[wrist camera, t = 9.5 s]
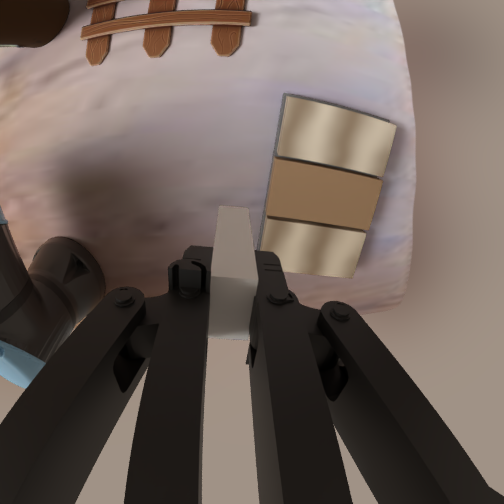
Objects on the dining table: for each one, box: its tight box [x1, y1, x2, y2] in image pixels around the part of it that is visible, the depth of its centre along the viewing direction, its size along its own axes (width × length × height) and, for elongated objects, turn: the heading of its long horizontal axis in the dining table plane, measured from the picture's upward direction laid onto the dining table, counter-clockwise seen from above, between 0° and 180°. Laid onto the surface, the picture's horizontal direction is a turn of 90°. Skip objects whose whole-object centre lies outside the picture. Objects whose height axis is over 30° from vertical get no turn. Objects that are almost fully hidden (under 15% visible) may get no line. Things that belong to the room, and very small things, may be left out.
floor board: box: [257, 93, 389, 251], centre depth 35 cm, size 14×23×4 cm, turn 172°
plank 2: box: [260, 215, 366, 278], centre depth 37 cm, size 14×7×2 cm, turn 82°
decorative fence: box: [80, 0, 252, 66], centre depth 23 cm, size 23×2×15 cm
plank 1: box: [277, 96, 397, 177], centre depth 30 cm, size 14×7×2 cm, turn 82°
